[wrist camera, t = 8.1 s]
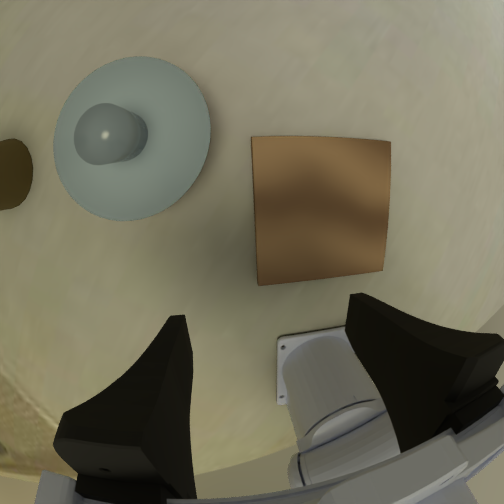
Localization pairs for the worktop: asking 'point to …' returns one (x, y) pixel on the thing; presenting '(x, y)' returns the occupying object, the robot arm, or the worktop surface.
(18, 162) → the cork
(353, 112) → the worktop surface
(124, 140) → the lid
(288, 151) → the board
